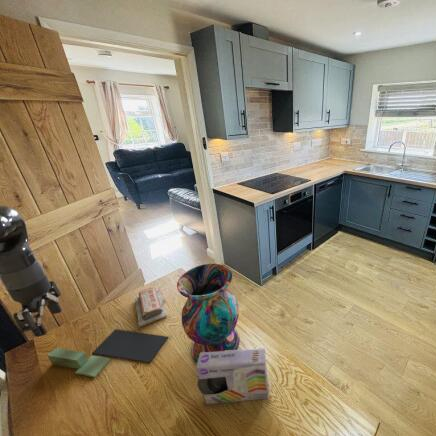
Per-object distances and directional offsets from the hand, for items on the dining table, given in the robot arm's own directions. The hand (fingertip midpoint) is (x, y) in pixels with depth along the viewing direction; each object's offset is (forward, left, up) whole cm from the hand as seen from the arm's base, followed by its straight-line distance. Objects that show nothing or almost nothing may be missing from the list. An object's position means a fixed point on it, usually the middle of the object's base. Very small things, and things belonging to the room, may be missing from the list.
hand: (49, 323), depth 70 cm
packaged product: (+8, +27, -20) cm, 35 cm away
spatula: (+1, +1, -20) cm, 20 cm away
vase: (+43, +15, -20) cm, 49 cm away
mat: (+13, +10, -20) cm, 26 cm away
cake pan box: (+56, 0, -20) cm, 59 cm away
